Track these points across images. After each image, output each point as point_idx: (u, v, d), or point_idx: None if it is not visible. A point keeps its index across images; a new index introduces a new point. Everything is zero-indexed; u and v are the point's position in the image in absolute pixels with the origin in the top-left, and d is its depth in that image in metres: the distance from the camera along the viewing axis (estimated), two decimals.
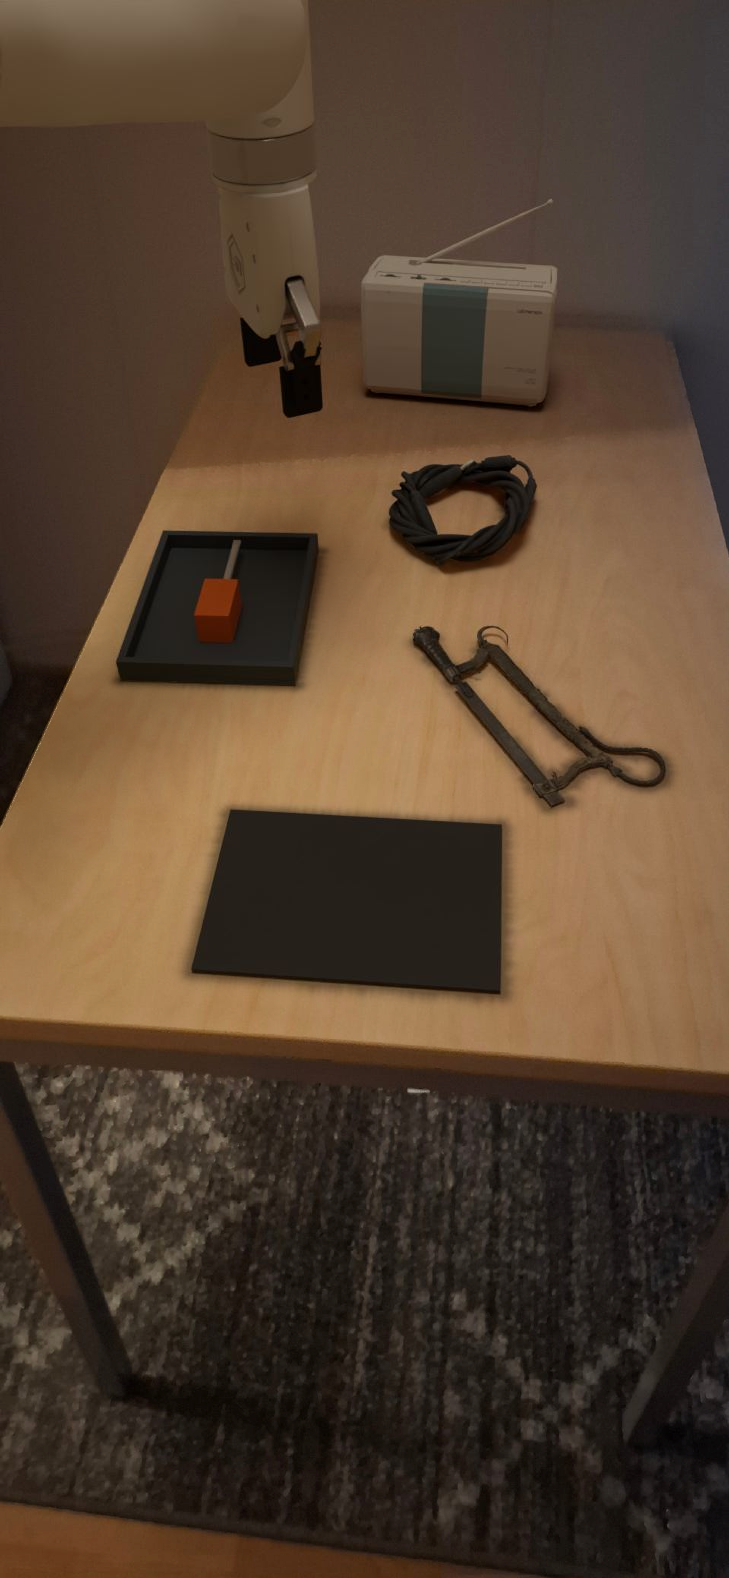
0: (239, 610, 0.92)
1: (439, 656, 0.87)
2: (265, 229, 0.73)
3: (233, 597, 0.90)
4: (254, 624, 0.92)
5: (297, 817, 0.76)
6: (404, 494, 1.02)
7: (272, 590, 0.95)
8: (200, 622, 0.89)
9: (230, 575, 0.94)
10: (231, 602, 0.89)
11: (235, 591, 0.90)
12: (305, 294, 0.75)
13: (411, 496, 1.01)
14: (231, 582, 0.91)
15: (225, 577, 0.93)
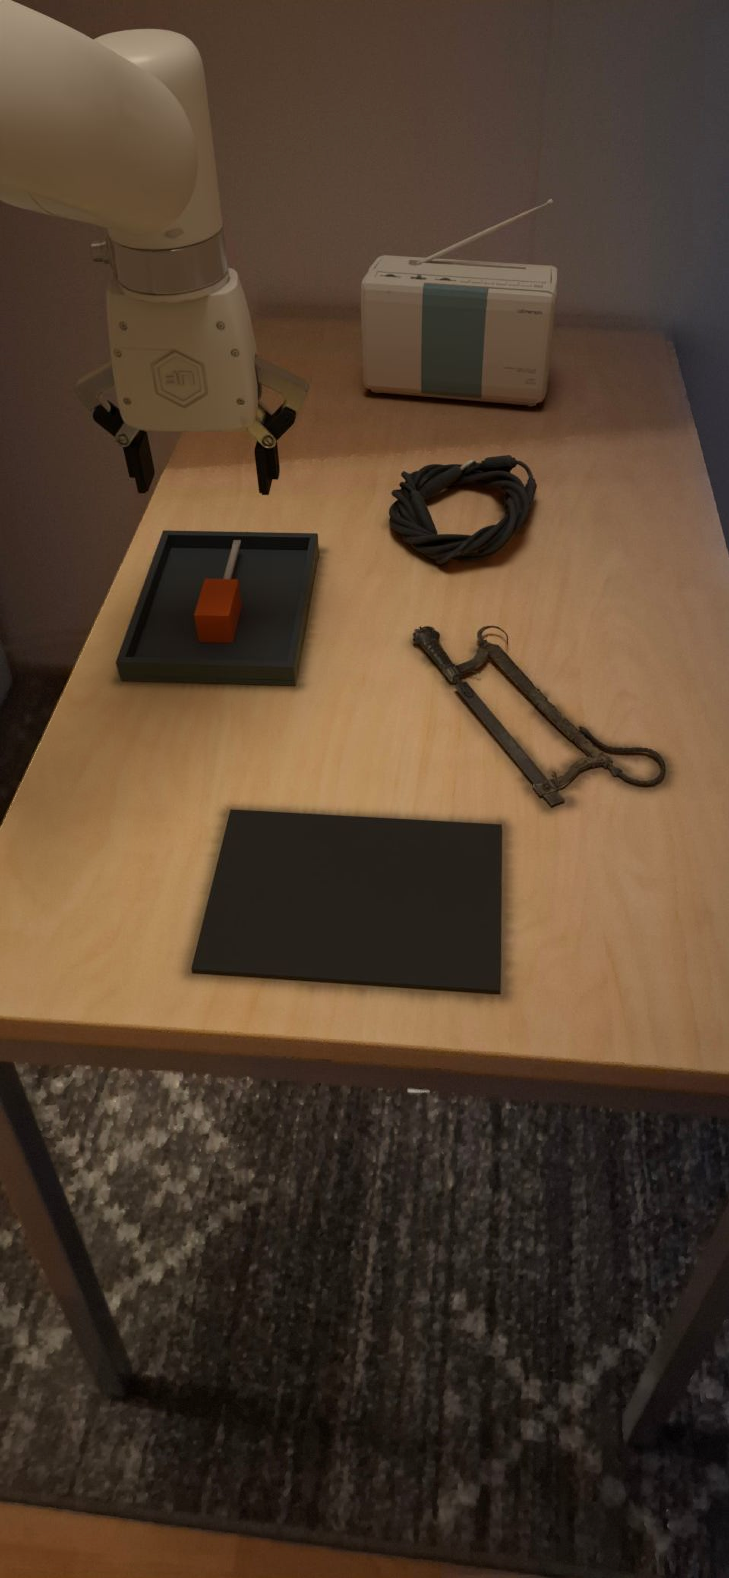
0: (239, 610, 0.92)
1: (439, 656, 0.87)
2: (240, 319, 0.71)
3: (233, 597, 0.90)
4: (254, 624, 0.92)
5: (297, 817, 0.76)
6: (404, 494, 1.02)
7: (272, 590, 0.95)
8: (200, 622, 0.89)
9: (230, 575, 0.94)
10: (231, 602, 0.89)
11: (235, 591, 0.90)
12: (273, 365, 0.75)
13: (411, 496, 1.01)
14: (231, 582, 0.91)
15: (225, 577, 0.93)
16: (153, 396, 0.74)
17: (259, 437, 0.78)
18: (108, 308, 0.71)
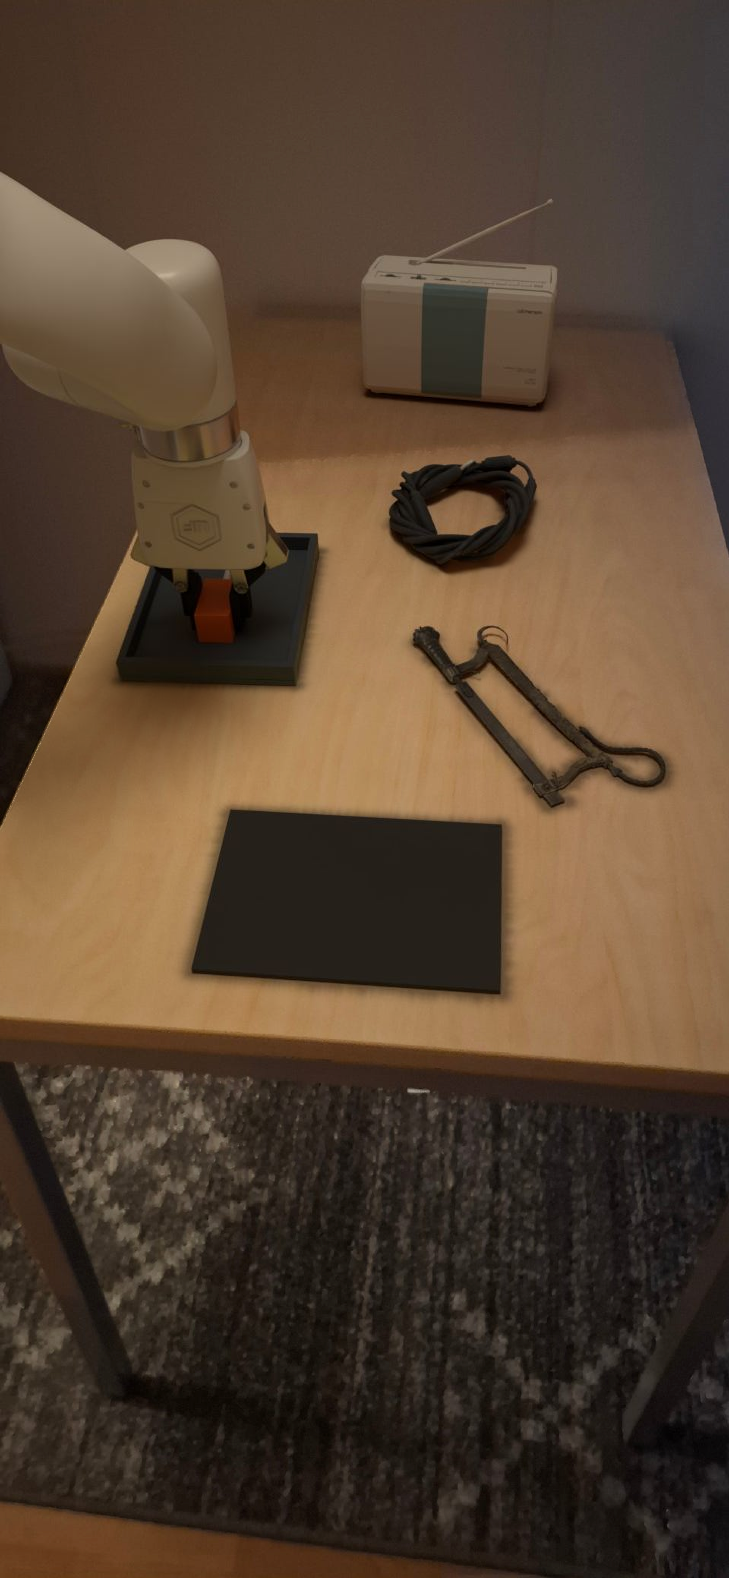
0: None
1: (439, 656, 0.87)
2: (251, 478, 0.79)
3: None
4: (254, 624, 0.92)
5: (297, 817, 0.76)
6: (404, 494, 1.02)
7: (272, 590, 0.95)
8: (200, 622, 0.89)
9: (230, 575, 0.94)
10: None
11: None
12: (271, 526, 0.85)
13: (411, 496, 1.01)
14: (231, 582, 0.91)
15: (225, 577, 0.93)
16: (172, 541, 0.82)
17: (233, 585, 0.87)
18: (133, 468, 0.79)
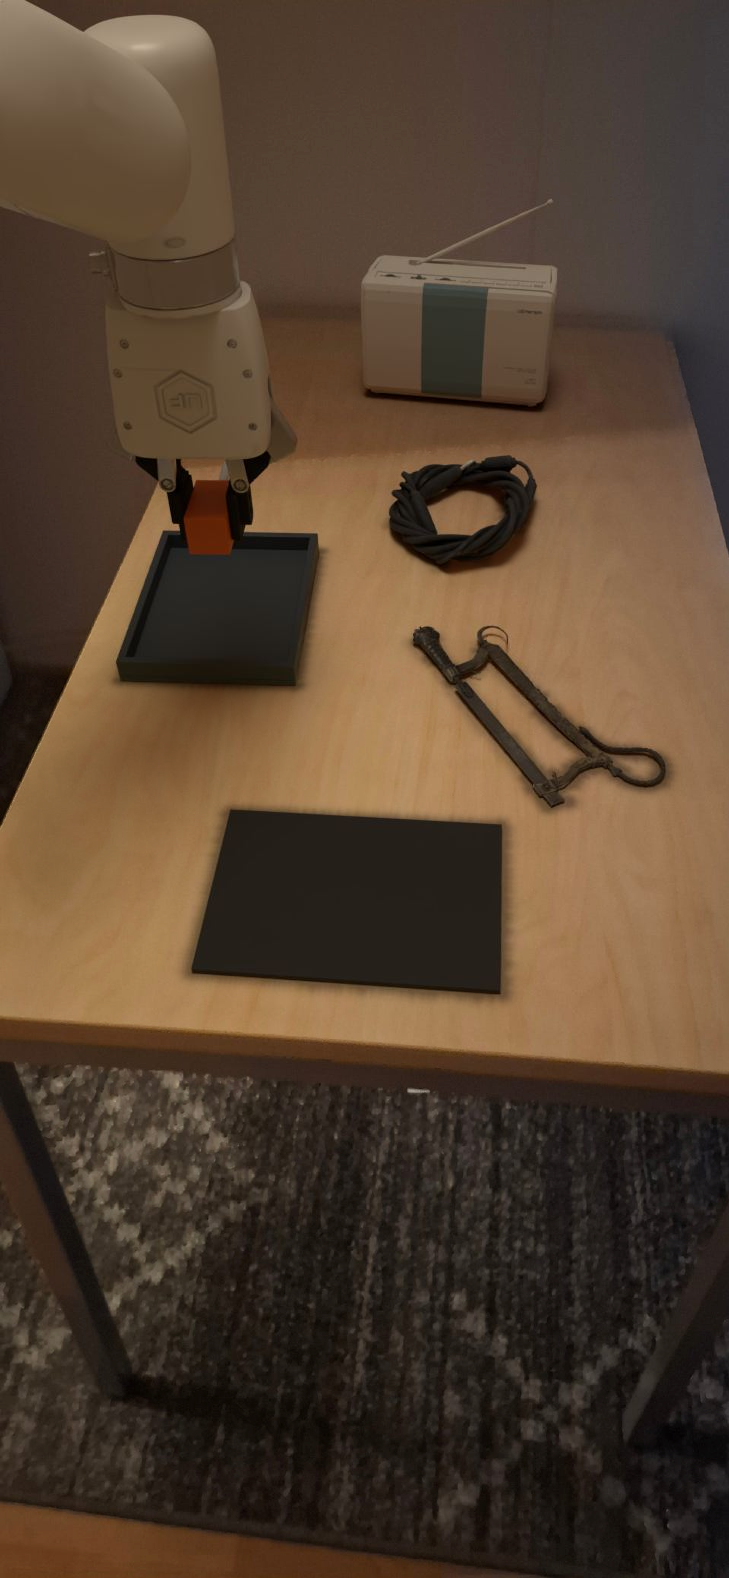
0: None
1: (439, 656, 0.87)
2: (253, 336, 0.64)
3: None
4: (254, 624, 0.92)
5: (297, 817, 0.76)
6: (404, 494, 1.02)
7: (272, 590, 0.95)
8: (191, 528, 0.74)
9: (226, 479, 0.79)
10: None
11: None
12: (276, 406, 0.70)
13: (411, 496, 1.01)
14: (228, 483, 0.76)
15: None
16: (156, 420, 0.68)
17: (230, 481, 0.72)
18: (107, 324, 0.64)
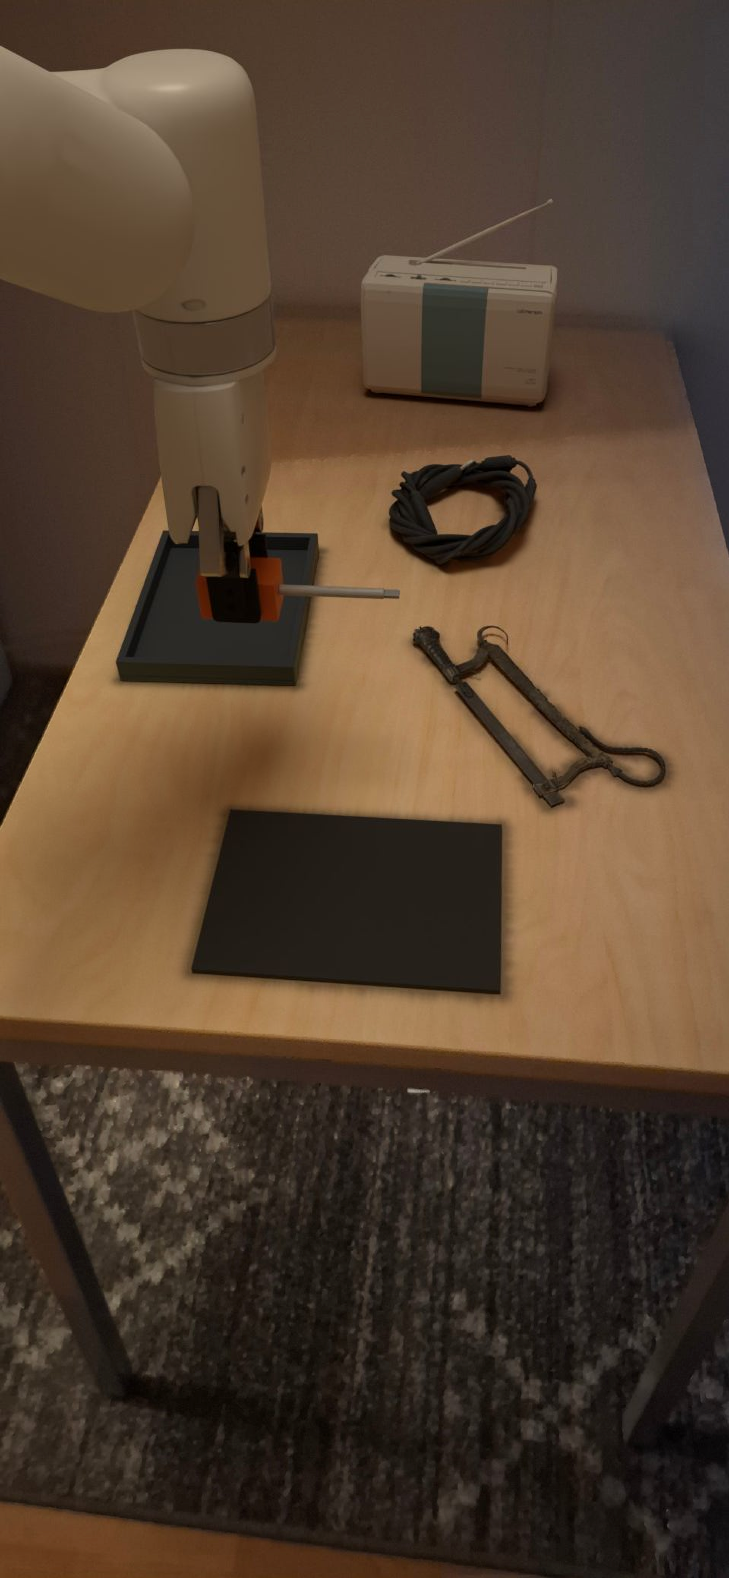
0: None
1: (439, 656, 0.87)
2: (166, 426, 0.56)
3: None
4: (254, 624, 0.92)
5: (297, 817, 0.76)
6: (404, 494, 1.02)
7: None
8: None
9: (313, 591, 0.69)
10: None
11: None
12: (215, 525, 0.60)
13: (411, 496, 1.01)
14: (266, 579, 0.67)
15: (305, 585, 0.69)
16: None
17: None
18: None
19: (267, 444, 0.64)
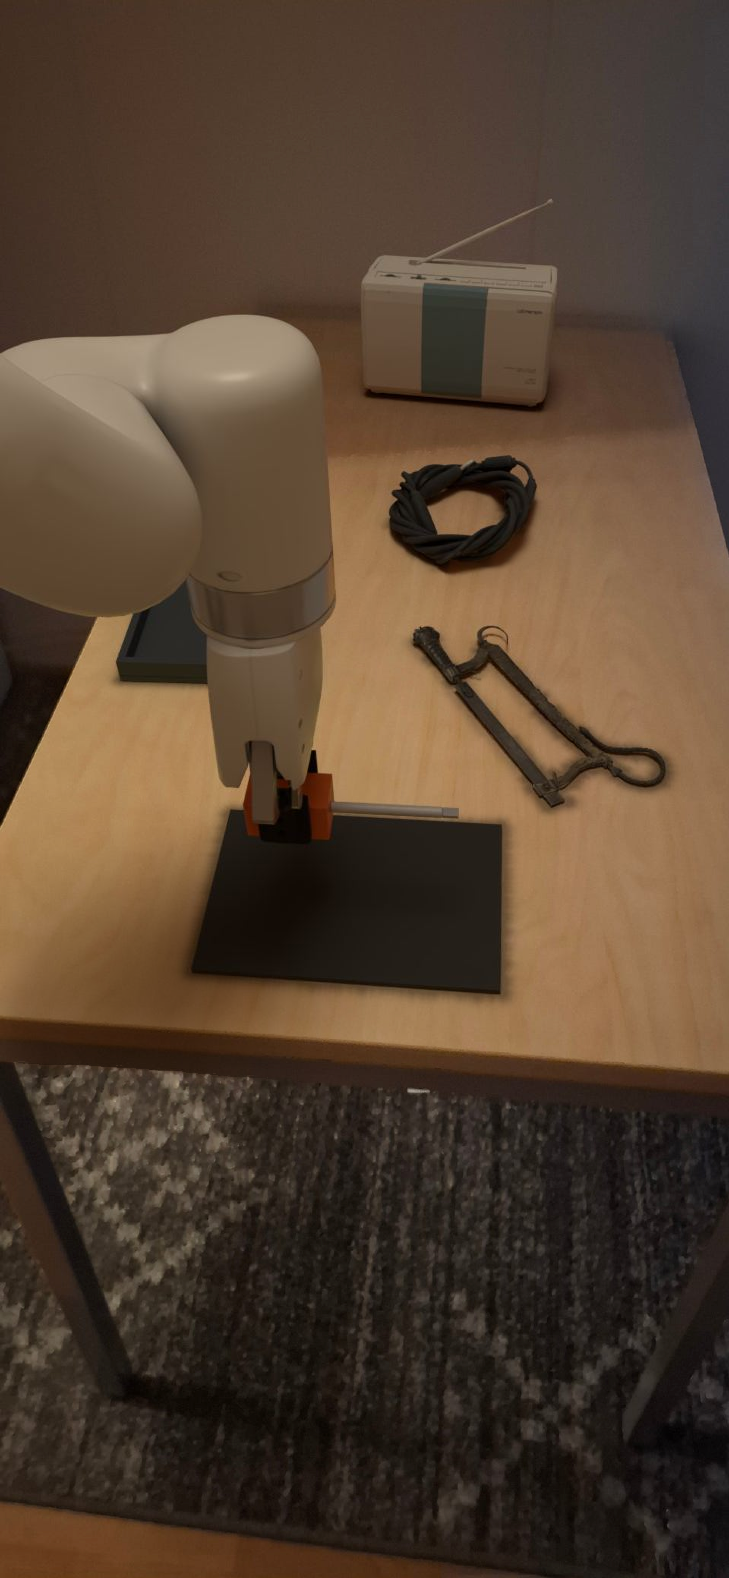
0: None
1: (439, 656, 0.87)
2: (219, 687, 0.52)
3: None
4: None
5: None
6: (404, 494, 1.02)
7: None
8: None
9: (366, 810, 0.65)
10: None
11: None
12: (269, 775, 0.56)
13: (411, 496, 1.01)
14: (318, 802, 0.64)
15: (358, 803, 0.65)
16: None
17: None
18: None
19: (321, 671, 0.60)
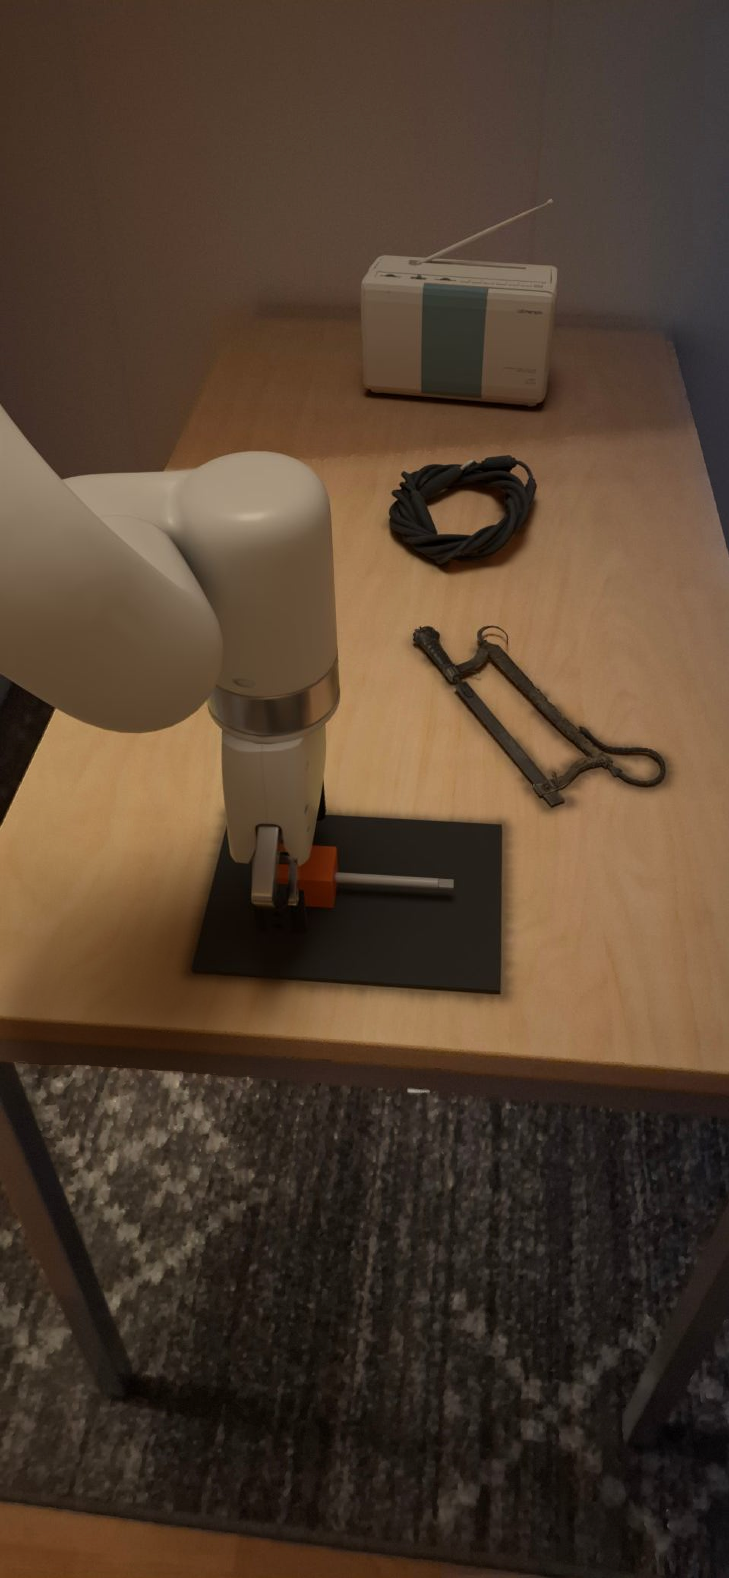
0: (316, 903, 0.70)
1: (439, 656, 0.87)
2: (233, 777, 0.57)
3: None
4: None
5: None
6: (404, 494, 1.02)
7: None
8: None
9: (368, 881, 0.70)
10: (281, 877, 0.69)
11: (308, 881, 0.69)
12: (273, 850, 0.59)
13: (411, 496, 1.01)
14: (324, 874, 0.69)
15: (361, 875, 0.70)
16: None
17: None
18: None
19: None
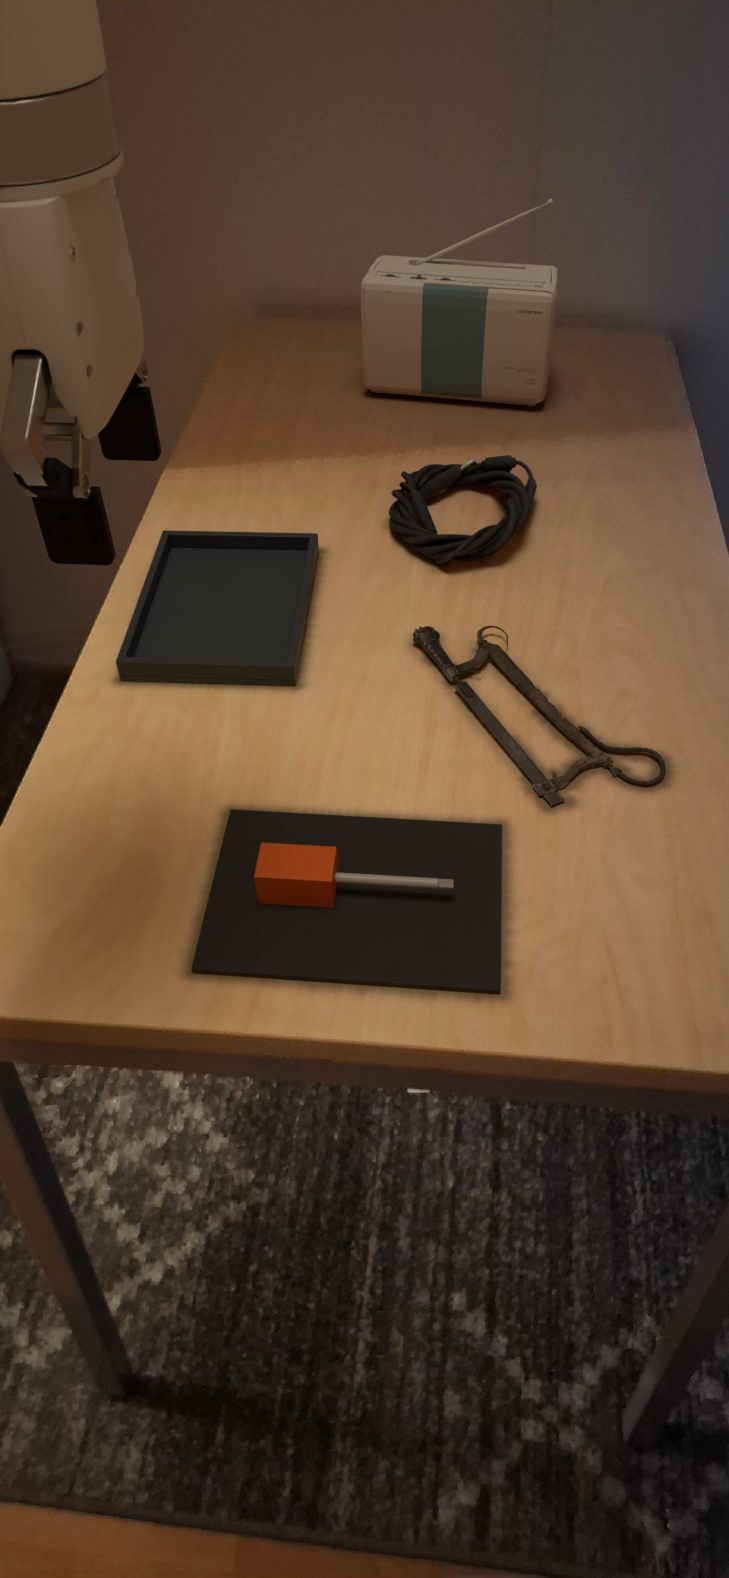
0: (316, 903, 0.70)
1: (439, 656, 0.87)
2: None
3: (293, 879, 0.69)
4: (254, 624, 0.92)
5: (297, 817, 0.76)
6: (404, 494, 1.02)
7: (272, 590, 0.95)
8: None
9: (368, 881, 0.70)
10: (281, 877, 0.69)
11: (308, 881, 0.69)
12: (33, 384, 0.43)
13: (411, 496, 1.01)
14: (324, 874, 0.69)
15: (361, 875, 0.70)
16: None
17: None
18: None
19: (130, 310, 0.49)
